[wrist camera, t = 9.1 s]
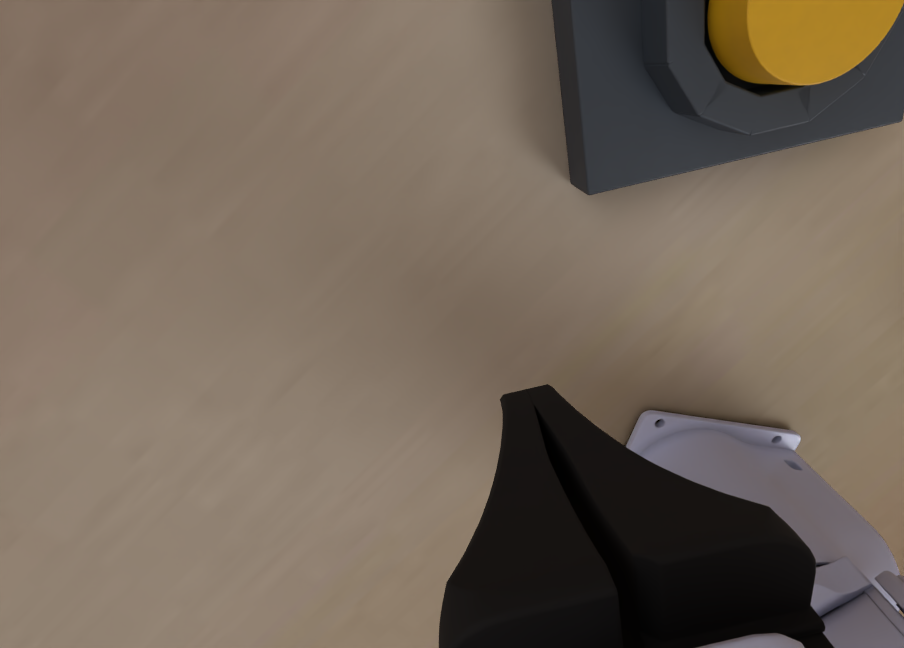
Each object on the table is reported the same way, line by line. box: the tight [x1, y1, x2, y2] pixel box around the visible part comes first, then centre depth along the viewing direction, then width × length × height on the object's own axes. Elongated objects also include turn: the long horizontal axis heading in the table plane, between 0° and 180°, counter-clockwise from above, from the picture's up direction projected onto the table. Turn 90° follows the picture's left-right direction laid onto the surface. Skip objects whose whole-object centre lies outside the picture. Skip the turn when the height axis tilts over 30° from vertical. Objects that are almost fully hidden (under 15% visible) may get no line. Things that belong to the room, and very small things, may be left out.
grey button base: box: [552, 0, 904, 195], centre depth 17 cm, size 12×10×4 cm
